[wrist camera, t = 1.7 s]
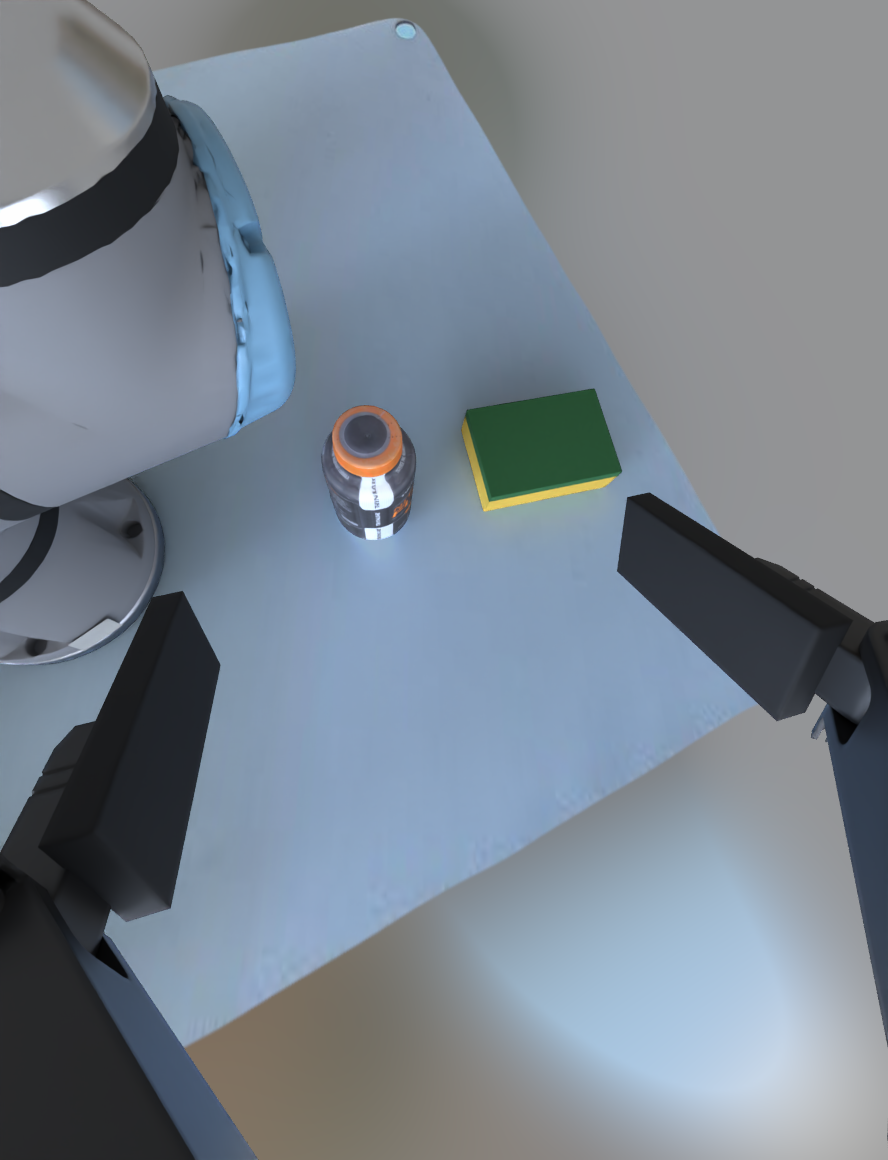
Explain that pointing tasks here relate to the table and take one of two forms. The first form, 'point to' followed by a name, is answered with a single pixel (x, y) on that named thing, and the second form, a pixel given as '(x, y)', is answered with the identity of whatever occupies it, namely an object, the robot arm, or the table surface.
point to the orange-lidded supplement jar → (369, 472)
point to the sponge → (539, 448)
